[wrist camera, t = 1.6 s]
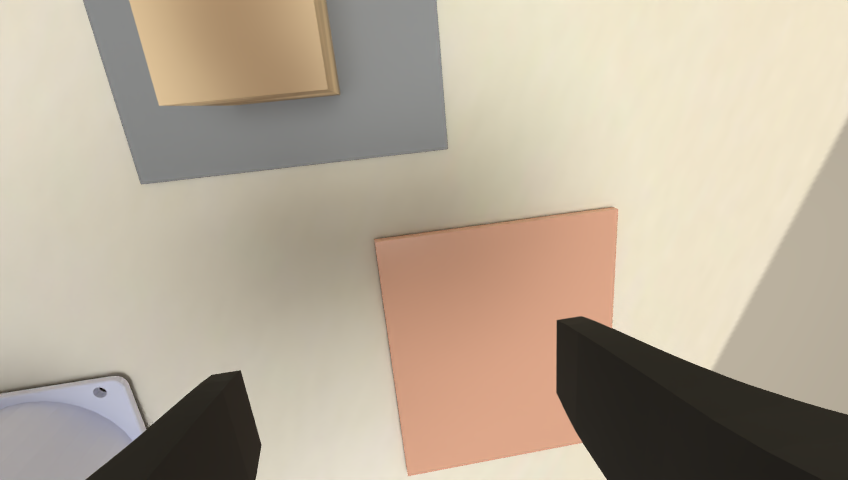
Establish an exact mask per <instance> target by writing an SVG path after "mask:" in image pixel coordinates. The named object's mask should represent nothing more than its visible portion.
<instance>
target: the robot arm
mask: <svg viewBox="0 0 848 480" xmlns="http://www.w3.org/2000/svg"><path fill="white" fill-rule="evenodd" d="M99 387H101V388H103V389H105V390H106V391H107V392H104V391H101V390H100V389H99ZM556 393H557V395H558V397H559V399H560V401H561V404H562V406H563V408H564V410H565V412H566V414H567V416H568V418H569V420H570V422H571V424H572V426H573V428H574V430H575V431H576V433H577V435H578V436H579V438H580V439H581V441H582V442H583V444H584V446H585V447H586V449H587V450H588V452H589V453H590V455H591V456H592V458H593V459H594V461H595V462H596V464H597V465H598V467H599V468H600V470H601V471H602V473H603V474H604V476H605V477H606V479H607V480H848V415H847V414H843V413H839V412H836V411H832V410H828V409H824V408H821V407H818V406H814V405H811V404H807V403H804V402H801V401H797V400H794V399H791V398H788V397H784V396H782V395H779V394H776V393H773V392H769V391H766V390H763V389H760V388H757V387H754V386H751V385H748V384H745V383H743V382H740V381H737V380H734V379H731V378H729V377H726V376H723V375H721V374H718V373H716V372H713V371H711V370H708V369H706V368H703V367H700V366H698V365H695V364H693V363H690V362H688V361H686V360H683V359H681V358H678V357H676V356H674V355H671V354H669V353H667V352H664V351H662V350H660V349H657V348H655V347H653V346H651V345H648V344H646V343H644V342H642V341H639V340H637V339H635V338H633V337H630V336H628V335H626V334H624V333H621V332H619V331H617V330H615V329H613V328H610V327H608V326H606V325H603V324H601V323H599V322H596V321H594V320H591V319H589V318H586V317H583V316H578V317H572V318H566V319H560V320H557V345H556ZM260 450H261V442H260V438H259V435H258V431H257V428H256V424H255V420H254V417H253V413H252V410H251V406H250V402H249V399H248V395H247V392H246V388H245V385H244V381H243V377H242V374H241V370H240V371H234V372H228V373H221V374H215V375H211V376H210V377H208V378H207V379H206V380H204V381H203V382H202V383H201V384H199V385H198V386H197V387H196V388H194V389H193V390H192V391H191V392H190V393H188V394H187V395H186V396H185V397H184V398H183V399H181V400H180V401H179V402H178V403H177V404H176V405H174V406H173V407H172V408H171V409H170V410H169V411H168V412H166V413H165V414H164V415H163V416H162V417H161V418H159V419H158V420H157V421H156V422H155V423H154V424H152V425H151V426H150V427H149V428H148V429H147V430H146V427H145V425H144V422H143V419H142V417H141V414H140V412H139V409H138V406H137V404H136V401H135V399H134V396H133V393H132V391H131V388H130V386H129V383H128V382H127V380H126V379H124V378H123V377H120V376H109V377H103V378H96V379H90V380H84V381H77V382H71V383H65V384H58V385H52V386H45V387H39V388H33V389H26V390H20V391H14V392H7V393H1V394H0V480H255V479H256V474H257V468H258V462H259V456H260Z"/></svg>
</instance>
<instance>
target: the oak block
mask: <svg viewBox="0 0 848 480" xmlns="http://www.w3.org/2000/svg"><path fill="white" fill-rule="evenodd" d="M129 2H130V5H131V9H132V12H133V16H134V19H135V23H136V26H137V30H138V33H139V37H140V40H141V44H142V47H143V51H144V54H145V58H146V62H147V65H148V69H149V72H150V76H151V79H152V83H153V86H154V90H155V93H156V97H157V100H158V104H159V106H233V105H243V104H253V103H263V102H273V101H283V100H293V99H303V98H313V97H323V96H333V95H340V88H339V82H338V75H337V69H336V62H335V56H334V49H333V42H332V36H331V29H330V23H329V16H328V10H327V3H326V0H129Z"/></svg>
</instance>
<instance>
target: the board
mask: <svg viewBox="0 0 848 480" xmlns="http://www.w3.org/2000/svg"><path fill="white" fill-rule="evenodd" d="M617 220H618V209H616V208H614V207H610V208H603V209H596V210H588V211H581V212H573V213H566V214H558V215H551V216H544V217H536V218H529V219H521V220H514V221H506V222H499V223H492V224H484V225H477V226H469V227H462V228H454V229H447V230H440V231H432V232H425V233H417V234H410V235H402V236H395V237H388V238H380V239H374V240H375V248H376V255H377V262H378V269H379V276H380V283H381V290H382V297H383V304H384V311H385V318H386V325H387V332H388V339H389V346H390V353H391V360H392V367H393V374H394V381H395V388H396V395H397V402H398V409H399V416H400V423H401V430H402V437H403V444H404V451H405V458H406V465H407V472H408V476H411V475H416V474H422V473H427V472H432V471H437V470H442V469H448V468H453V467H458V466H463V465H469V464H474V463H479V462H484V461H489V460H495V459H500V458H505V457H510V456H516V455H521V454H526V453H531V452H536V451H542V450H547V449H552V448H557V447H562V446H568V445H573V444H578V443H583V442H582V441H581V439H580V438H579V436H578V435H577V433H576V431H575V430H574V428H573V426H572V424H571V422H570V420H569V418H568V416H567V414H566V412H565V410H564V408H563V406H562V404H561V401H560V399H559V397H558V395H557V393H556V345H557V320H560V319H566V318H572V317H578V316H583V317H586V318H589V319H591V320H594V321H596V322H599V323H601V324H603V325H606V326H608V327H610V328H612V317H613V298H614V278H615V259H616V239H617Z"/></svg>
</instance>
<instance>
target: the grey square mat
mask: <svg viewBox="0 0 848 480" xmlns="http://www.w3.org/2000/svg"><path fill="white" fill-rule="evenodd" d="M83 2H84V5H85V8H86V11H87V15H88V18H89V21H90V24H91V27H92V30H93V34H94V37H95V40H96V43H97V46H98V49H99V53H100V56H101V59H102V62H103V65H104V68H105V72H106V75H107V78H108V81H109V84H110V88H111V91H112V94H113V97H114V100H115V103H116V107H117V110H118V113H119V116H120V119H121V122H122V126H123V129H124V132H125V135H126V138H127V141H128V145H129V148H130V151H131V154H132V157H133V160H134V164H135V167H136V170H137V173H138V176H139V180H140V183H141V184H149V183H158V182H167V181H175V180H184V179H193V178H201V177H210V176H219V175H227V174H236V173H245V172H253V171H262V170H271V169H279V168H288V167H297V166H305V165H314V164H322V163H331V162H340V161H348V160H357V159H366V158H374V157H383V156H392V155H400V154H409V153H418V152H426V151H435V150H444V149H448V143H447V130H446V117H445V105H444V92H443V79H442V66H441V53H440V41H439V28H438V15H437V2H436V0H326V3H327V10H328V16H329V23H330V29H331V36H332V42H333V49H334V56H335V62H336V69H337V75H338V82H339V88H340V95H333V96H323V97H313V98H303V99H293V100H283V101H273V102H263V103H253V104H243V105H233V106H159V104H158V100H157V97H156V93H155V90H154V86H153V83H152V79H151V76H150V72H149V69H148V65H147V62H146V58H145V54H144V51H143V47H142V44H141V40H140V37H139V33H138V30H137V26H136V23H135V19H134V16H133V12H132V9H131V5H130V2H129V0H83Z"/></svg>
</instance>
